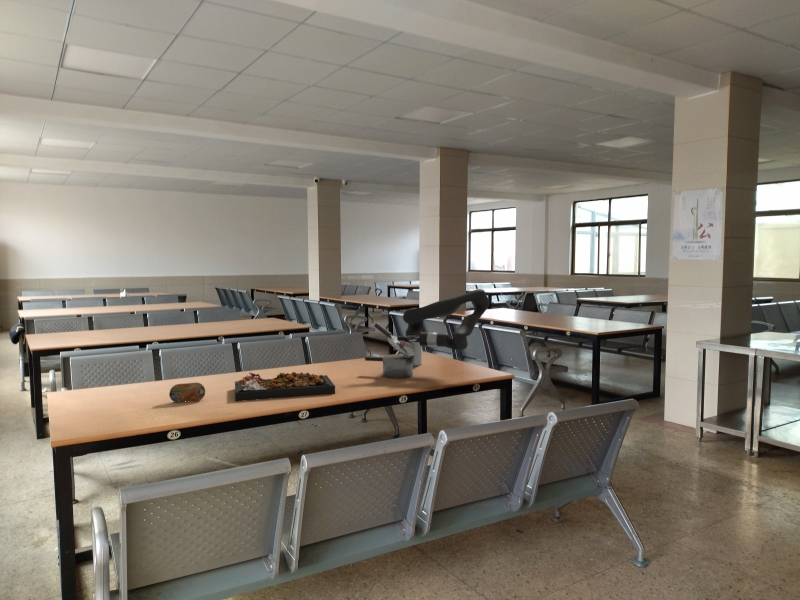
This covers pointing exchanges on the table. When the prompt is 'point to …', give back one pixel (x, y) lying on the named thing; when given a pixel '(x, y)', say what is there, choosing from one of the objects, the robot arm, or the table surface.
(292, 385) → the food platter
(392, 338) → the cooker lid
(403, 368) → the cooker pot
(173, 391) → the tin
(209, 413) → the table surface
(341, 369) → the table surface
